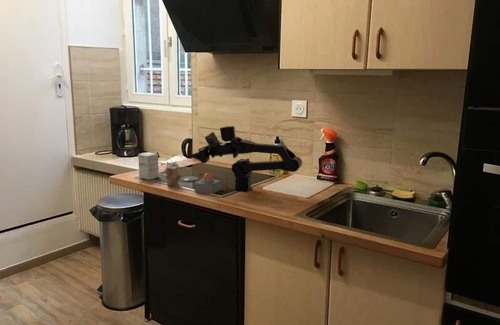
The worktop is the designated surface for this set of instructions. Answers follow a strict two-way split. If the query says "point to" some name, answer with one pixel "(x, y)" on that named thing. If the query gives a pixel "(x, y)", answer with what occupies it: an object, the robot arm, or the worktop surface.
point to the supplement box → (148, 165)
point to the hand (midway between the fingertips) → (194, 152)
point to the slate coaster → (188, 179)
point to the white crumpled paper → (172, 166)
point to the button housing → (207, 186)
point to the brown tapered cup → (172, 176)
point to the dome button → (207, 178)
